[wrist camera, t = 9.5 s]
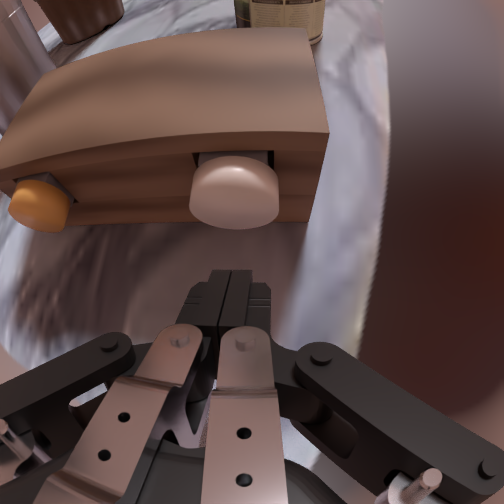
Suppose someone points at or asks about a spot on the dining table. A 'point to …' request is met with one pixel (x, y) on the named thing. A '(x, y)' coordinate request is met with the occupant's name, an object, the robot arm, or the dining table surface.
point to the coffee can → (282, 15)
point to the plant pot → (81, 17)
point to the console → (172, 123)
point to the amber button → (41, 203)
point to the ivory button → (235, 189)
